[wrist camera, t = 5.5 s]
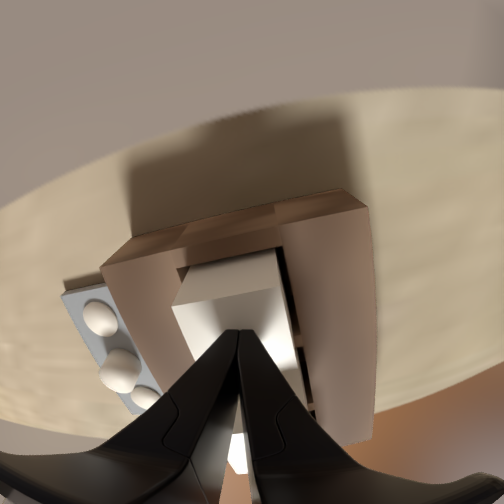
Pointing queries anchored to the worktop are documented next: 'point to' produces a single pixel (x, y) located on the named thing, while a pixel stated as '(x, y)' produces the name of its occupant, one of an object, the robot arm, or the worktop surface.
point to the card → (112, 346)
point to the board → (297, 289)
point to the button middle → (237, 441)
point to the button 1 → (237, 304)
